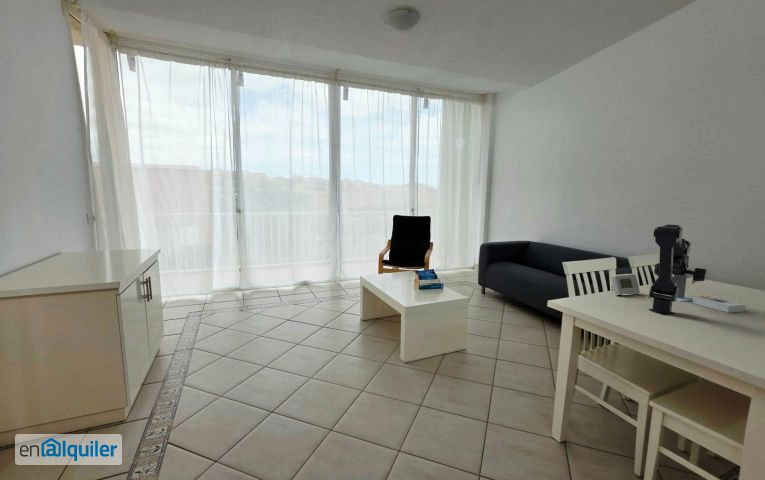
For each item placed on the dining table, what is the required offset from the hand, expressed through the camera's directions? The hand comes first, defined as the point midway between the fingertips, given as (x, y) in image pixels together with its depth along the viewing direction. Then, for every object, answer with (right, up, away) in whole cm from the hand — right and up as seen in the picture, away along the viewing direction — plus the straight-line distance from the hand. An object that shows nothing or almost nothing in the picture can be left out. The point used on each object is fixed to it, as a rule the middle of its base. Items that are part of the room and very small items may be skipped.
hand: (680, 281), depth 164 cm
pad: (-1, -9, 0) cm, 9 cm away
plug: (-1, -8, 0) cm, 8 cm away
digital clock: (-24, -8, +7) cm, 26 cm away
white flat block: (+5, -10, -13) cm, 17 cm away
